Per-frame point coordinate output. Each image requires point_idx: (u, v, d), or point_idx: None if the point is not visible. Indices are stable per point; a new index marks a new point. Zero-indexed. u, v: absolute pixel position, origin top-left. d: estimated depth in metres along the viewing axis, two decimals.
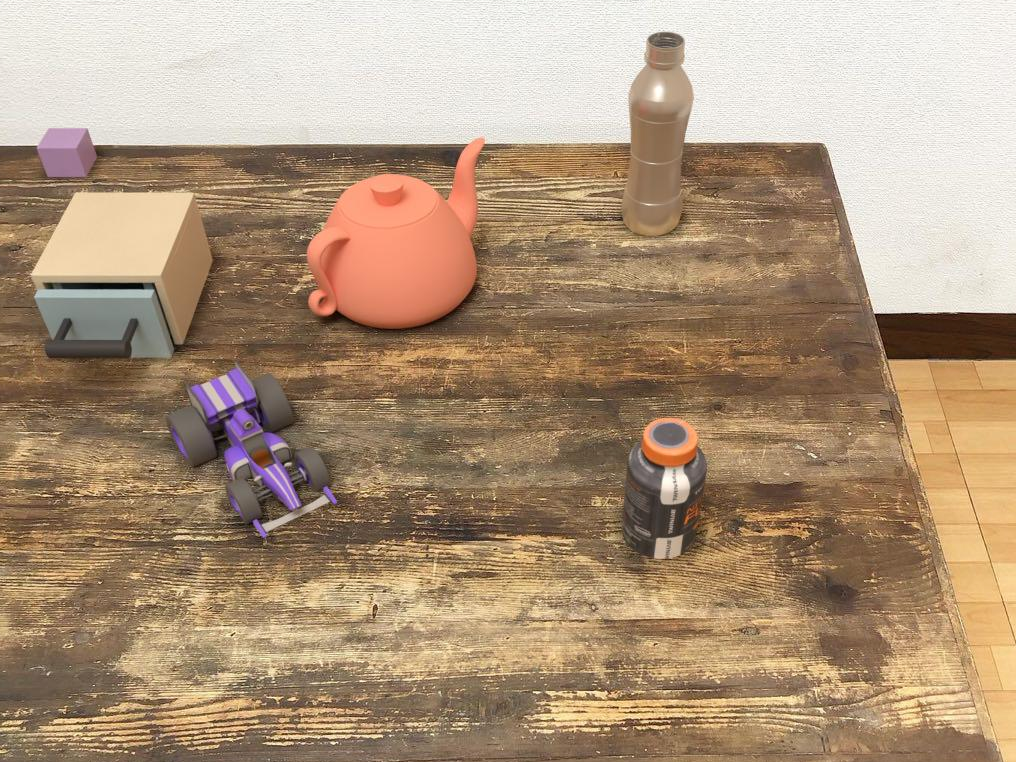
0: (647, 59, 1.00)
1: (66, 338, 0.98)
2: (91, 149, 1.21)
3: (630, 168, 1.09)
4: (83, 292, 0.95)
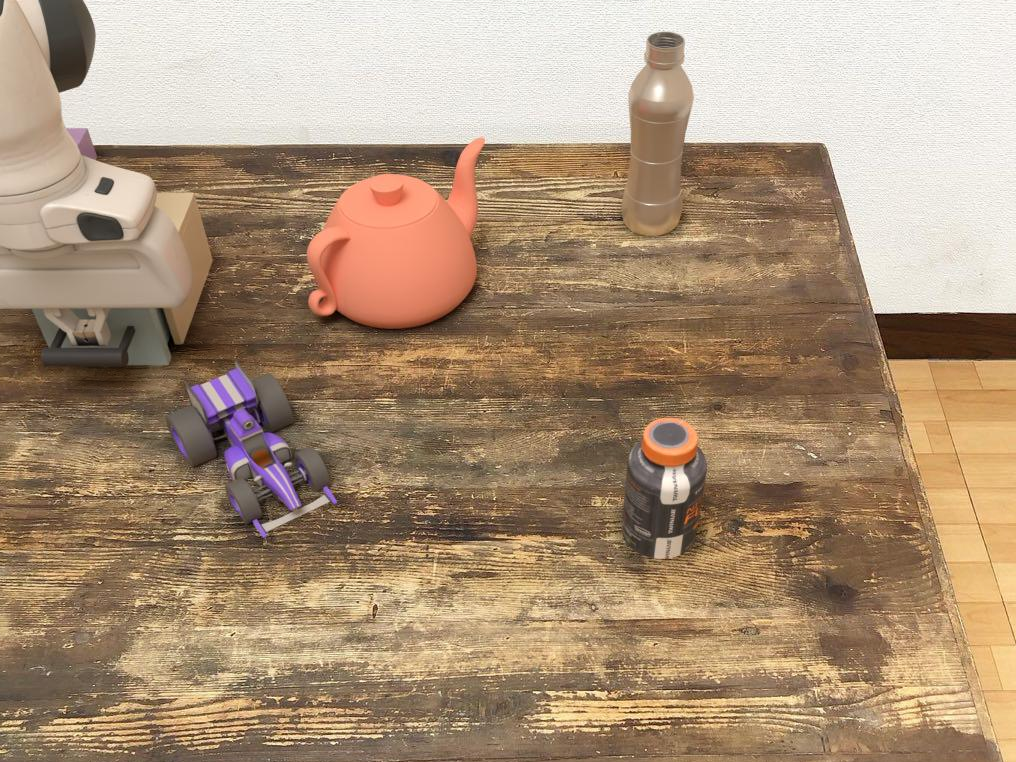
0: (647, 59, 1.00)
1: (62, 346, 0.97)
2: (91, 149, 1.21)
3: (630, 168, 1.09)
4: None
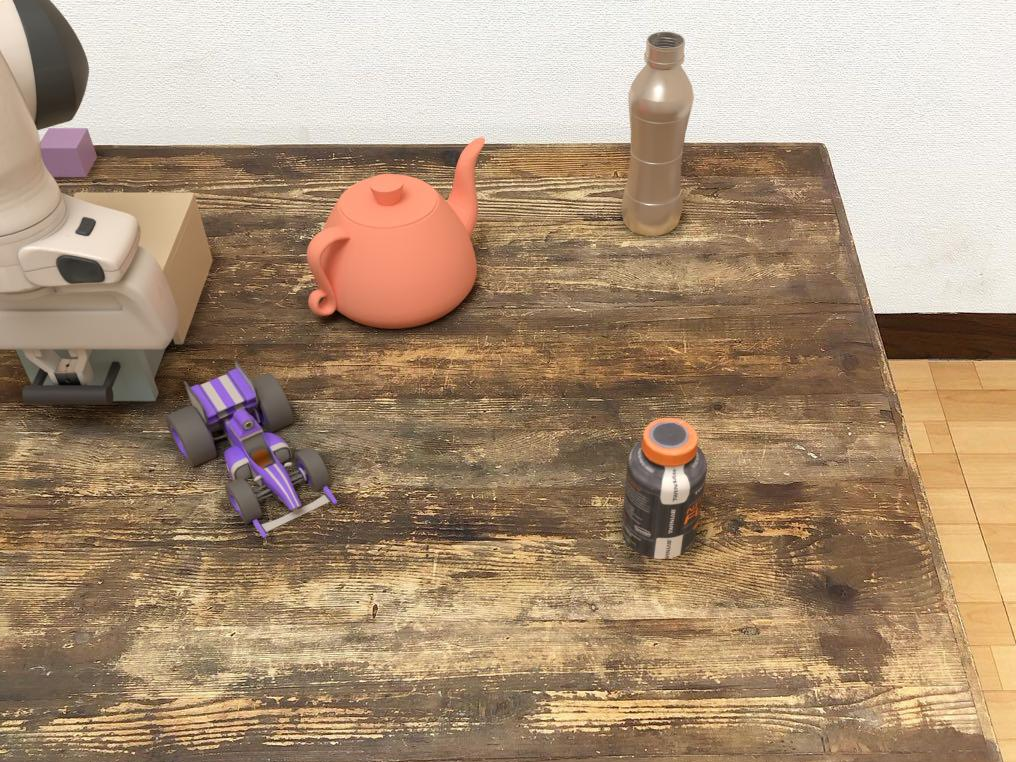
0: (647, 59, 1.00)
1: (45, 381, 0.94)
2: (91, 149, 1.21)
3: (630, 168, 1.09)
4: None
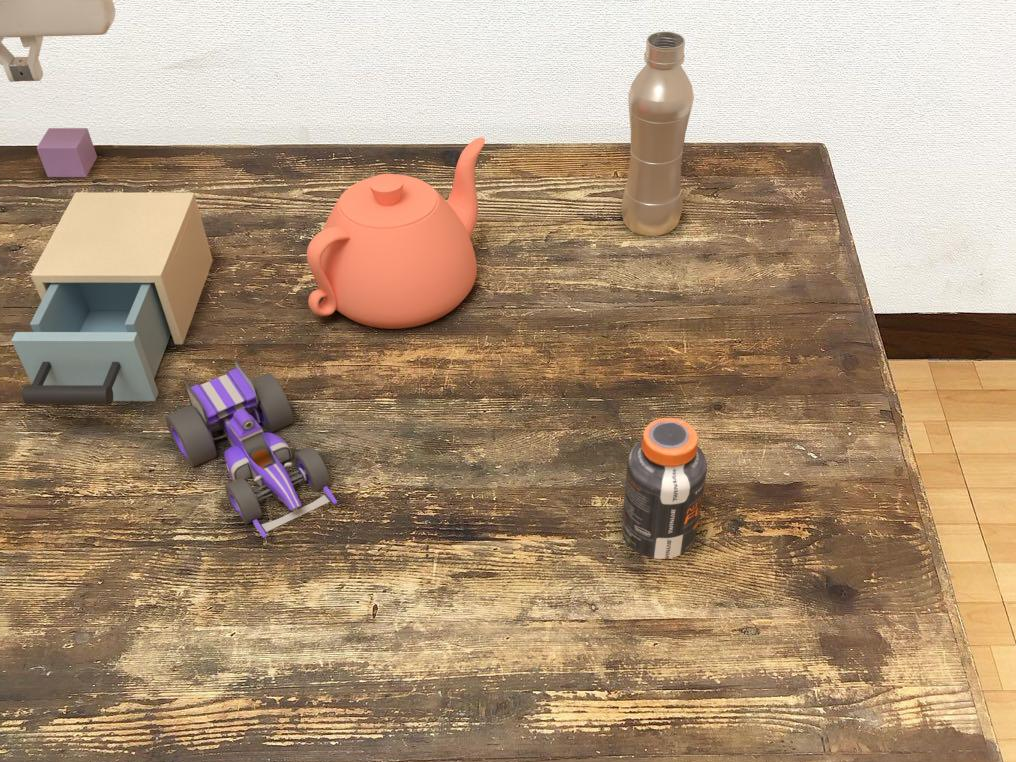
0: (647, 59, 1.00)
1: (45, 381, 0.94)
2: (91, 149, 1.21)
3: (630, 168, 1.09)
4: (63, 335, 0.91)
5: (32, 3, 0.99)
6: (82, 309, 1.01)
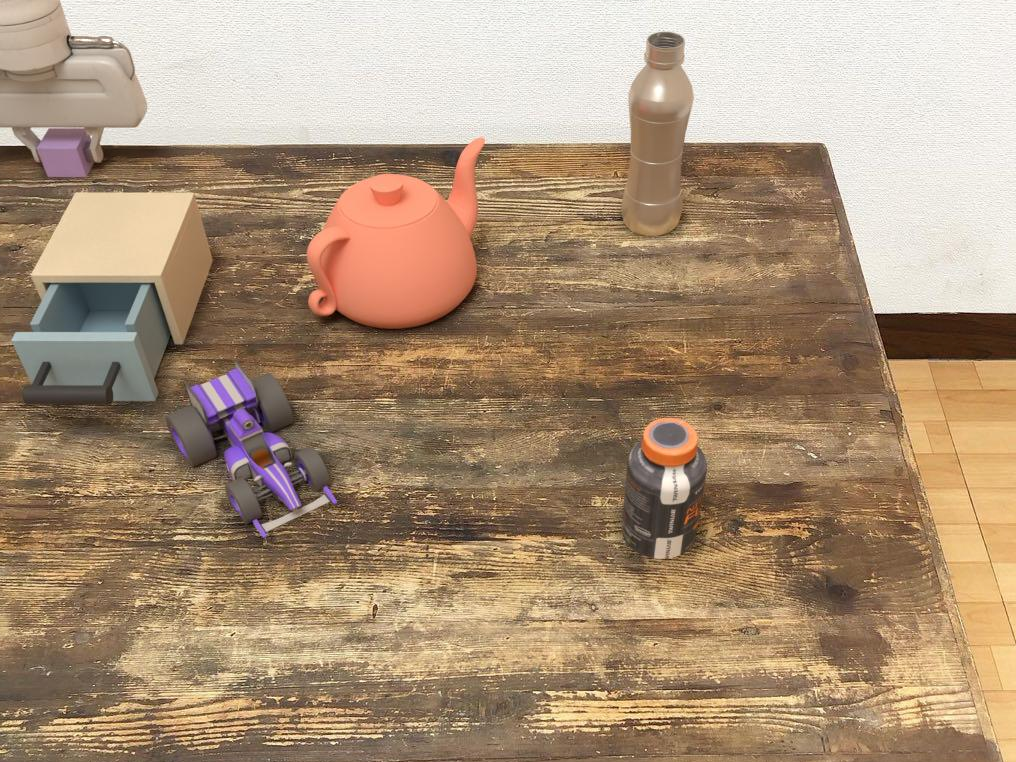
0: (647, 59, 1.00)
1: (45, 381, 0.94)
2: None
3: (630, 168, 1.09)
4: (63, 335, 0.91)
5: (75, 101, 1.14)
6: (82, 309, 1.01)
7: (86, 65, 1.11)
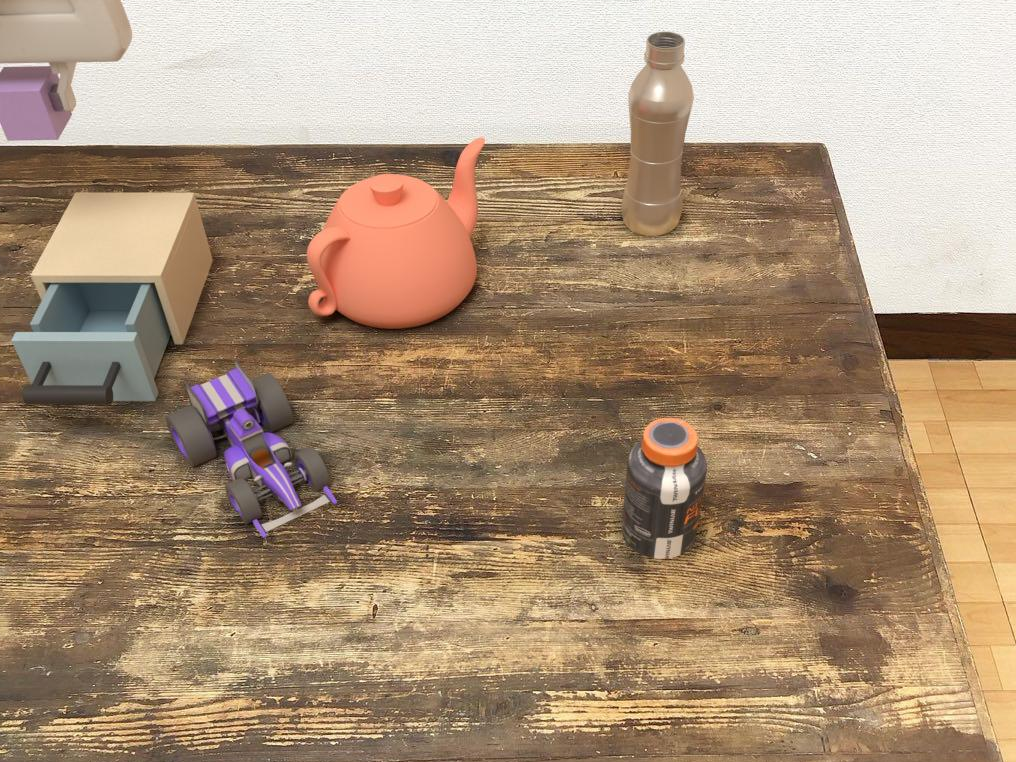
0: (647, 59, 1.00)
1: (45, 381, 0.94)
2: None
3: (630, 168, 1.09)
4: (63, 335, 0.91)
5: (35, 25, 0.85)
6: (82, 309, 1.01)
7: None
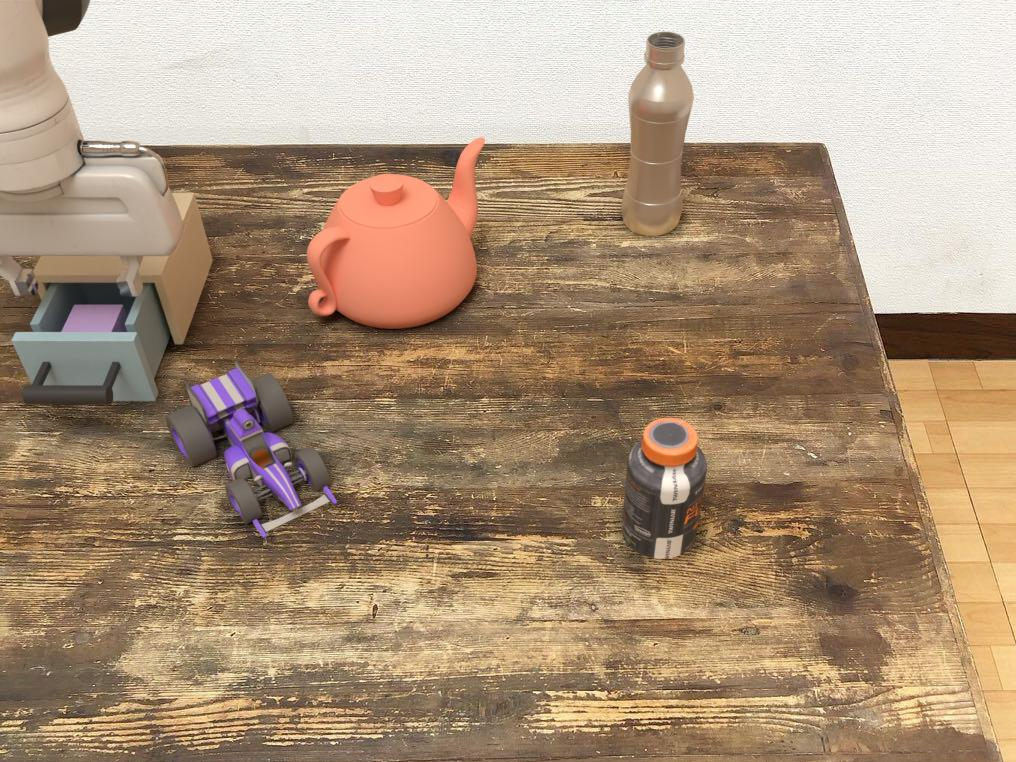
0: (647, 59, 1.00)
1: (45, 381, 0.94)
2: None
3: (630, 168, 1.09)
4: (63, 335, 0.91)
5: (88, 224, 0.85)
6: None
7: (104, 180, 0.82)
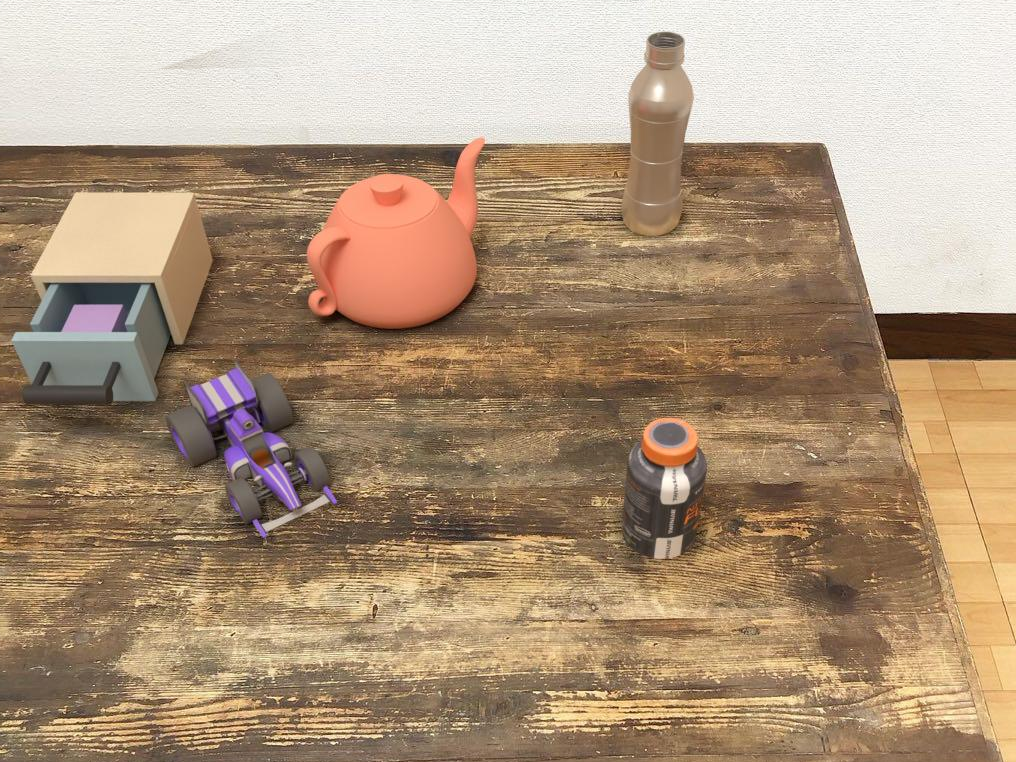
0: (647, 59, 1.00)
1: (45, 381, 0.94)
2: None
3: (630, 168, 1.09)
4: (63, 335, 0.91)
5: None
6: None
7: None
